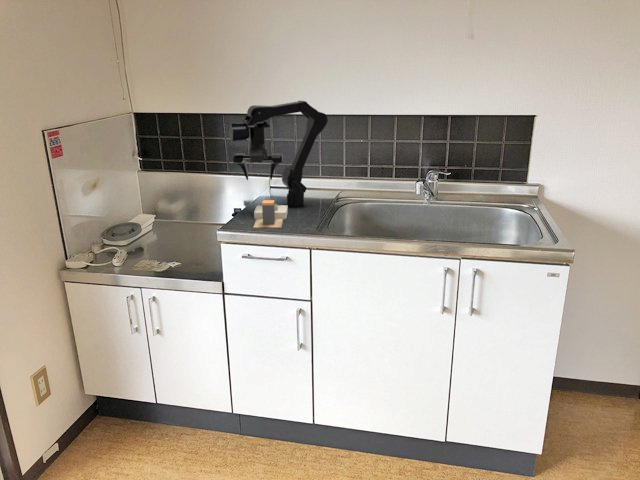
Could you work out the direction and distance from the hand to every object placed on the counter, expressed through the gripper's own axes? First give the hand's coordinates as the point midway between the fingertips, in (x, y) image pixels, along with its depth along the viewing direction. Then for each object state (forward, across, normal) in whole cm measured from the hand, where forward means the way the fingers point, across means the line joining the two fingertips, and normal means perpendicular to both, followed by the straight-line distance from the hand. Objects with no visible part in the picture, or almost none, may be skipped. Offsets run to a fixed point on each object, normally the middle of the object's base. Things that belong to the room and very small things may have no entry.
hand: (259, 179), depth 210 cm
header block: (+12, +5, -8) cm, 15 cm away
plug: (+12, +5, -19) cm, 23 cm away
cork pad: (+12, +5, -19) cm, 23 cm away
